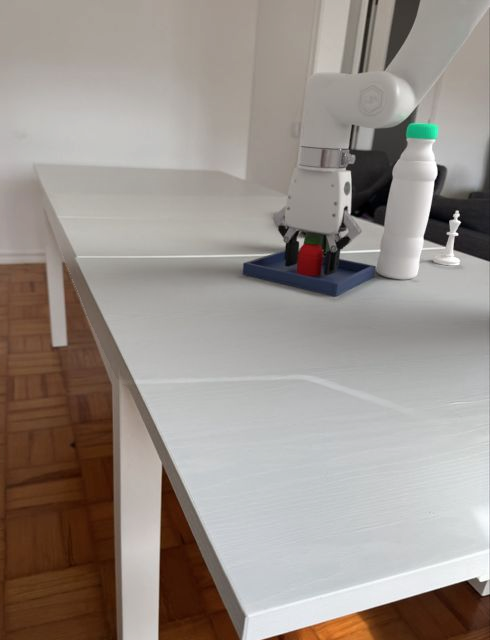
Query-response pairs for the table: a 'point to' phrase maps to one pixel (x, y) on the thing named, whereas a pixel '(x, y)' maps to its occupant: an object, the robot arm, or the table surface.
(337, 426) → the table surface
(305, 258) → the red sauce bottle
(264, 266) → the tray
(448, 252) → the chess piece
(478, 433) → the table surface
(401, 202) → the water bottle
